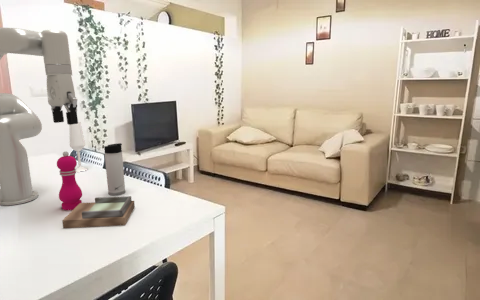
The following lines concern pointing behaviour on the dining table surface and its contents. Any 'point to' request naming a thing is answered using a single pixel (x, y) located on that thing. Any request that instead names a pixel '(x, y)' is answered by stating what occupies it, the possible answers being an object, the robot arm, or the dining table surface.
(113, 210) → the dock
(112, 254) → the dining table surface
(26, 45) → the robot arm
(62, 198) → the pepper mill
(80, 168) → the champagne flute
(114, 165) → the travel mug
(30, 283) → the dining table surface
